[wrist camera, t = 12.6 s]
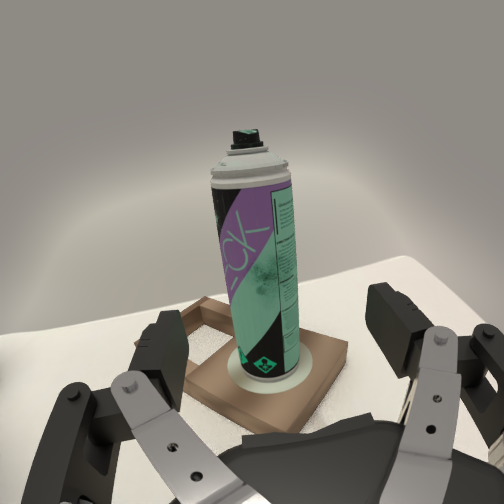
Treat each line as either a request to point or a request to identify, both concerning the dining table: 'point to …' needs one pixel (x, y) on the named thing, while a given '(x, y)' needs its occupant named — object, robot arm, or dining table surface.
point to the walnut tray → (256, 393)
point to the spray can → (259, 256)
